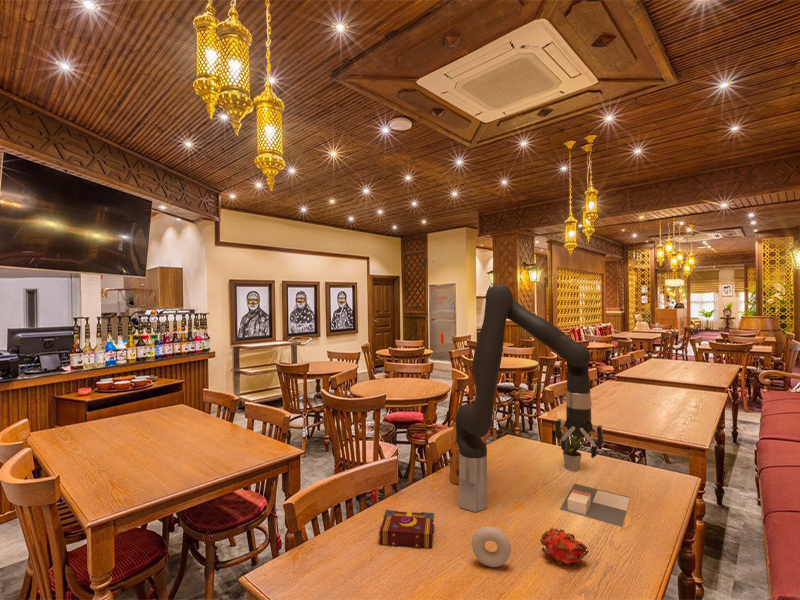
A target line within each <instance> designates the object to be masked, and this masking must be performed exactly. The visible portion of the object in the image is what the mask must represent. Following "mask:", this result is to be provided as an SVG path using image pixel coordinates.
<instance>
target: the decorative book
mask: <svg viewBox="0 0 800 600" xmlns="http://www.w3.org/2000/svg"><path fill="white" fill-rule="evenodd" d="M434 522H435V513H434V512H427V511H426V512H425V511H424V512H413V510H406V511H399V510H392V509H385V511H384V514H383V520H382V522H381V526H379V532H378V533H379V534H378V536H379V545H387V546H390V547H392V546H393V548H394V547H395V548H398V547H399V546H401V547H402V546H403V547H413V549H419V550H420V549H422V548H427V549H429V548H430V549H433V540H434V539H433V537H434V533H435V524H434Z"/></svg>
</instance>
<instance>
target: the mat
mask: <svg viewBox="0 0 800 600" xmlns="http://www.w3.org/2000/svg"><path fill="white" fill-rule="evenodd" d="M573 489H574V490H578V491H582V492H586V493H590V494H591V505H590V507H589V509H588V512H587V514H586V515H584V514H580V513H577V512H573V511H570V510H568V498H569V496H570V494H571V492H572V490H573ZM630 498H631V496H627V495H624V494H620V493H615V492H610V491H605V490H602V489H597V488H594V487H589V486H585V485H582V484H578V483H574V484H573V485H572V487H571V489H570V491H569V492H568V494H567V496H565V499H564V501H563V502H562V505H561V506H560V508H559V510H561V511H564V512H567V513H572V514H574V515H578V516H581V517H586V518H589V519H592V520H596V521H599V522H603V523H606V524H610V525H613V526H617V527H620V528H623V526H624V523H625V518H626V515H627V511H628V507H629V502H630Z"/></svg>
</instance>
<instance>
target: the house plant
mask: <svg viewBox="0 0 800 600" xmlns="http://www.w3.org/2000/svg"><path fill="white" fill-rule="evenodd" d="M565 433H566V432H565V431H564V430H563V429H562V428H561V434H562V435H564V434H565ZM568 437H569V438H570V441H569V438H568ZM568 437H567V438H566V440H567V451H566V452H563V451H562V456H563V461H564V468H565V469H566V470H567V471H571V472H578V470H580V467H581V460H582V453H581V452H580V451H578V450H579V449H580V448H581V449H586V450H587V451H589V448H588V447H585V444H586V441H583V439H585V438H586V437H578V436H573V435H572V434H570V435H569V436H568ZM555 444H556V445H559V446H561V442H557V443H555Z"/></svg>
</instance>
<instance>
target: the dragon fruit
mask: <svg viewBox="0 0 800 600" xmlns="http://www.w3.org/2000/svg"><path fill="white" fill-rule="evenodd" d="M575 538H576V536H575V534H573V533H570V532H568V533H566V532H565V529H560V530H559V529H558V528H557V527H556V528H554V527H551V528H550V529H549V530H546V531H545V532H544V533H541V539H540V543H541V545H542V546H543V547H542V548H541V551H542V552H543V553H544V554H547V555H550V556H551V558H552V559H553V560H555V561H556V563H557V564H558V565H559V566H560V565H562V563H564V564H566V565H569V566H571V567H574V566H578V565H579V563H578V562H580V561H581V559H584V557H586V556H587V554H588V553H589V550H588V547H587V545H585V543H583V542H582V541H579V540H576V539H575ZM544 546H545V547H544Z"/></svg>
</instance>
